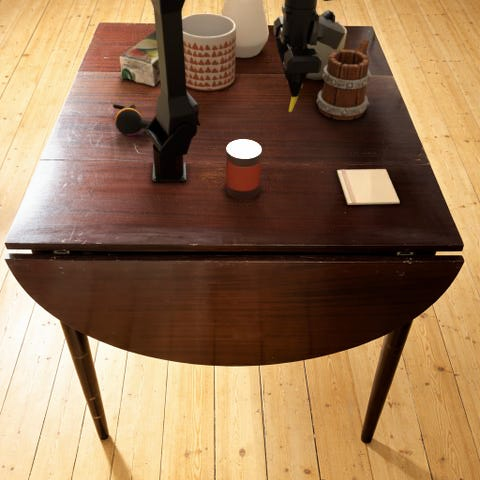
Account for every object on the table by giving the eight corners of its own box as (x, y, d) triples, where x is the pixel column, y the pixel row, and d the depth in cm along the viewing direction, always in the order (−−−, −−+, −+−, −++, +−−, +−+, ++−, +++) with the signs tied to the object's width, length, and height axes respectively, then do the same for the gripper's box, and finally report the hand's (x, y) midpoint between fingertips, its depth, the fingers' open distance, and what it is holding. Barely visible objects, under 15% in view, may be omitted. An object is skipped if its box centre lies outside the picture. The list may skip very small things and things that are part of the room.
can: (260, 199, 116) (263, 158, 109) (226, 200, 115) (227, 159, 108) (257, 179, 120) (260, 138, 113) (224, 180, 119) (225, 139, 113)
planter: (348, 81, 149) (356, 36, 141) (303, 89, 146) (308, 43, 138) (325, 59, 157) (331, 15, 149) (282, 66, 154) (285, 22, 146)
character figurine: (109, 124, 136) (114, 135, 126) (113, 98, 134) (118, 107, 124) (154, 133, 140) (163, 144, 129) (159, 108, 137) (168, 117, 127)
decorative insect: (294, 122, 127) (293, 112, 117) (279, 119, 127) (277, 108, 117) (309, 58, 125) (309, 42, 115) (294, 55, 125) (293, 39, 115)
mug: (304, 112, 138) (317, 42, 129) (329, 97, 148) (343, 32, 139) (351, 127, 134) (368, 56, 125) (374, 111, 144) (391, 44, 135)
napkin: (399, 203, 116) (399, 201, 116) (347, 204, 115) (348, 202, 115) (385, 170, 123) (386, 168, 123) (336, 171, 123) (337, 169, 122)
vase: (171, 87, 145) (167, 32, 135) (188, 62, 154) (186, 9, 145) (226, 95, 143) (227, 40, 133) (240, 70, 152) (242, 16, 143)
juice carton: (153, 89, 144) (151, 63, 139) (118, 80, 146) (114, 55, 142) (193, 57, 156) (192, 32, 152) (159, 49, 159) (157, 25, 155)
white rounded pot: (226, 35, 166) (227, -20, 155) (274, 43, 163) (277, -13, 153) (209, 56, 157) (209, -2, 147) (259, 64, 154) (262, 6, 144)
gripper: (356, 25, 102) (342, 111, 114) (334, -15, 115) (323, 66, 127) (291, 25, 101) (283, 112, 113) (276, -16, 114) (270, 66, 125)
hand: (291, 88), depth 119 cm, fingers closed on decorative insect, 6 cm apart
